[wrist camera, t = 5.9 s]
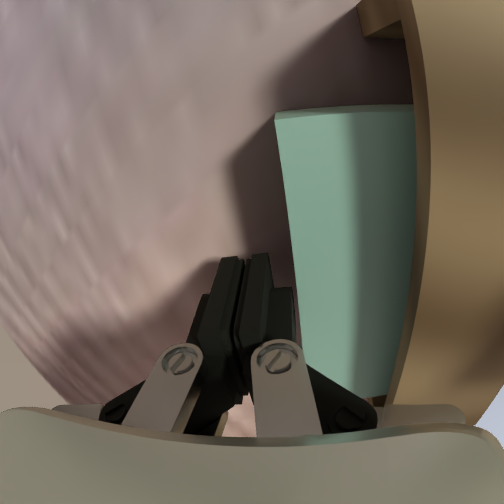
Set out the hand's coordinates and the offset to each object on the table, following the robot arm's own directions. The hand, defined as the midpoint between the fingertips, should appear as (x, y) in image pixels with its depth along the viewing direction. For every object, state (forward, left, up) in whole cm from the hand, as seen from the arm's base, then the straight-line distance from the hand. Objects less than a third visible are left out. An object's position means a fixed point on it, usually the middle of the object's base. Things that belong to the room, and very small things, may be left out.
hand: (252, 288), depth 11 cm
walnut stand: (0, +8, -1) cm, 8 cm away
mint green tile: (0, +5, -1) cm, 5 cm away
